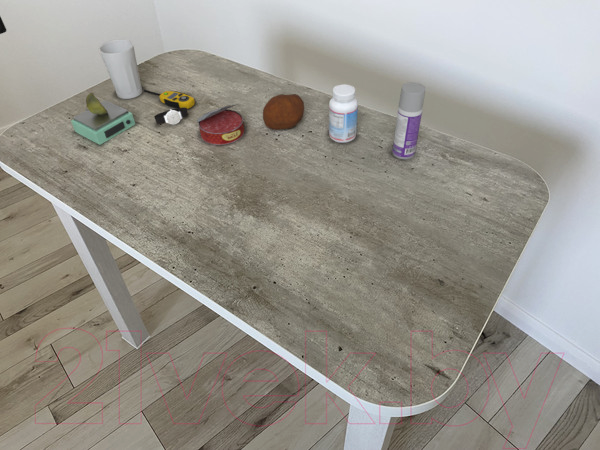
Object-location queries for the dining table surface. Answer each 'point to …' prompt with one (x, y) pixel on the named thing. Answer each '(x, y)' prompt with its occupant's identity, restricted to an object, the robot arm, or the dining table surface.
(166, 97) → the yellow walkie talkie
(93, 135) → the scale
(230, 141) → the canned food
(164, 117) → the watch
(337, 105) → the pill bottle
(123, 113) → the scale pan
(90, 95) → the lime
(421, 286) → the dining table surface
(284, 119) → the potato
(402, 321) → the dining table surface
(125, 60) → the cup
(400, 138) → the container
